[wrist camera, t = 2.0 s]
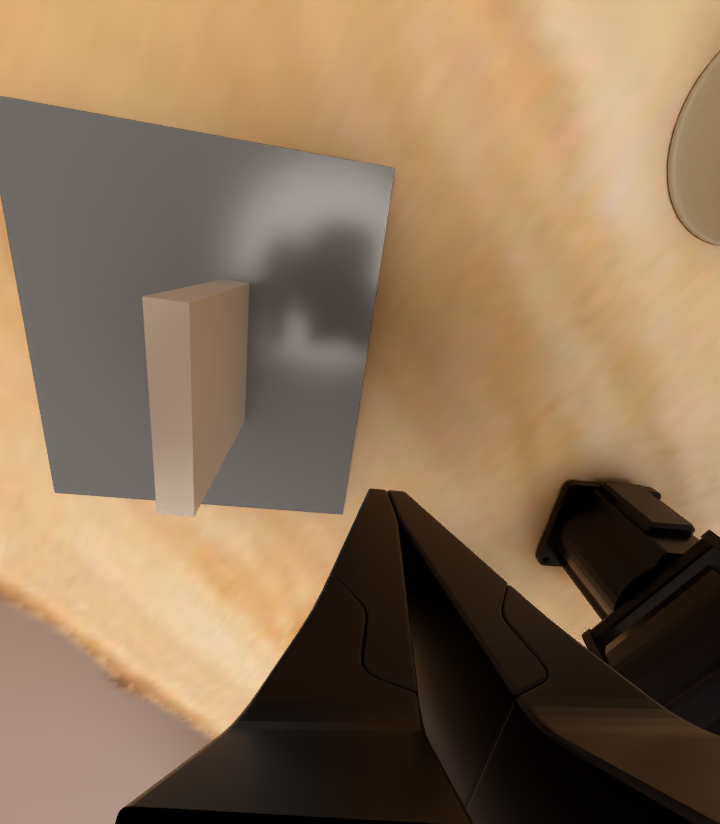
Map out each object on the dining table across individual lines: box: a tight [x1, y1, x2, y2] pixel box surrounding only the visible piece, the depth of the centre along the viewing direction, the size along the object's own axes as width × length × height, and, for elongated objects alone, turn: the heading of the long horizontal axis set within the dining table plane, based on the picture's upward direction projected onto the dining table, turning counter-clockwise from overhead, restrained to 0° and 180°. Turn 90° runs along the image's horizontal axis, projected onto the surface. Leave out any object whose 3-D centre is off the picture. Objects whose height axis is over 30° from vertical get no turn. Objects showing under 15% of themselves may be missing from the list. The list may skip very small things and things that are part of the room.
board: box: [0, 96, 395, 514], centre depth 19 cm, size 18×16×1 cm
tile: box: [142, 279, 249, 516], centre depth 15 cm, size 7×1×8 cm, turn 172°
